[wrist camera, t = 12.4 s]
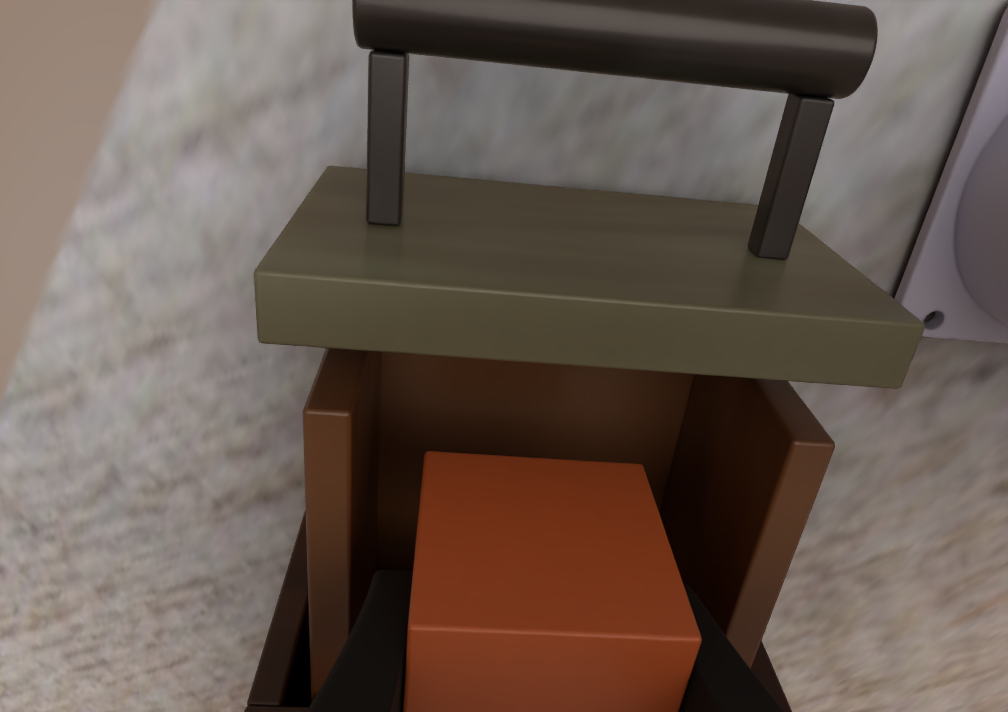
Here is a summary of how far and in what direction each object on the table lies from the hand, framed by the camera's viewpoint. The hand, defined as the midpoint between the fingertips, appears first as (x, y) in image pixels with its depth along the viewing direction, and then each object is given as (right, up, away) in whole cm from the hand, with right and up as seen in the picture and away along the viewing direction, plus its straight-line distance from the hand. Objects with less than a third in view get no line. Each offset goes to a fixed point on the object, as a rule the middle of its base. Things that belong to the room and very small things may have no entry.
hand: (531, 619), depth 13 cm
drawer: (0, +5, +5) cm, 8 cm away
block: (0, +1, +2) cm, 2 cm away
